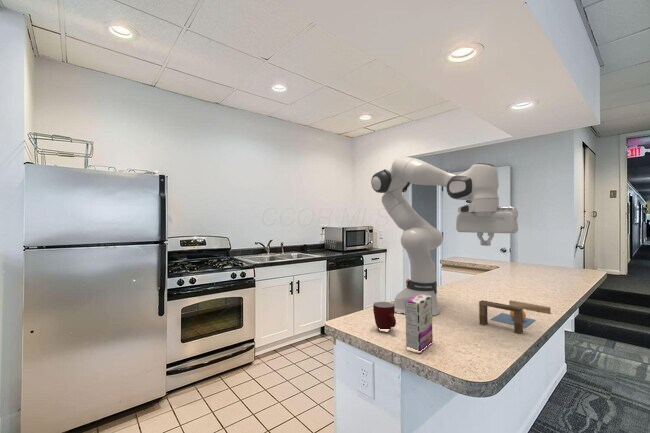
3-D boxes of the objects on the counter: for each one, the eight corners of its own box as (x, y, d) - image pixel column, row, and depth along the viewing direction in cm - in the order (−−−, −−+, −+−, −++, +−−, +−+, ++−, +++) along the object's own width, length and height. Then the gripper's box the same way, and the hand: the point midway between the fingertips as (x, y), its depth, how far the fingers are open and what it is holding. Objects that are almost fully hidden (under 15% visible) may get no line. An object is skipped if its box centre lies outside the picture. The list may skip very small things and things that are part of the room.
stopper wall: (549, 313, 134) (549, 308, 134) (509, 306, 146) (509, 301, 146) (550, 312, 135) (550, 307, 135) (510, 305, 147) (510, 300, 147)
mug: (404, 333, 113) (403, 306, 113) (388, 338, 108) (388, 310, 108) (384, 325, 121) (383, 300, 122) (369, 329, 117) (368, 303, 117)
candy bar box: (419, 339, 107) (418, 293, 107) (433, 343, 103) (432, 295, 103) (405, 350, 98) (404, 300, 98) (419, 354, 95) (419, 302, 95)
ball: (519, 318, 128) (514, 325, 125) (510, 307, 129) (505, 314, 126) (530, 314, 124) (526, 321, 120) (520, 303, 125) (516, 310, 122)
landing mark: (525, 327, 117) (525, 327, 117) (490, 319, 127) (490, 319, 127) (535, 320, 125) (535, 319, 125) (501, 313, 135) (501, 312, 135)
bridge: (520, 334, 110) (519, 309, 111) (479, 324, 121) (479, 301, 122) (523, 332, 112) (522, 307, 113) (482, 322, 123) (482, 300, 124)
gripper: (520, 206, 103) (521, 246, 103) (461, 208, 119) (461, 243, 119) (514, 206, 99) (515, 247, 99) (453, 208, 115) (454, 244, 114)
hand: (485, 245), depth 109 cm, fingers closed
